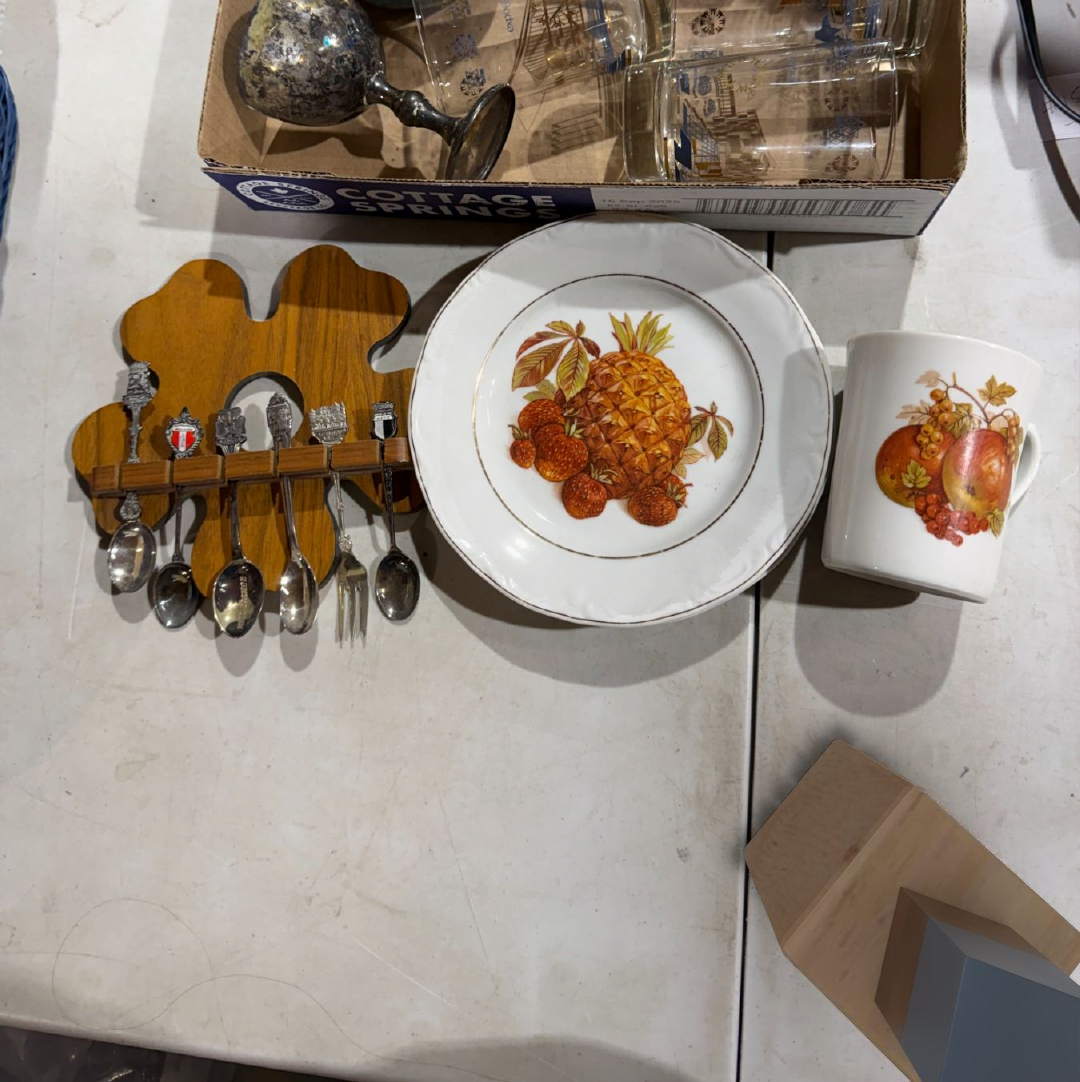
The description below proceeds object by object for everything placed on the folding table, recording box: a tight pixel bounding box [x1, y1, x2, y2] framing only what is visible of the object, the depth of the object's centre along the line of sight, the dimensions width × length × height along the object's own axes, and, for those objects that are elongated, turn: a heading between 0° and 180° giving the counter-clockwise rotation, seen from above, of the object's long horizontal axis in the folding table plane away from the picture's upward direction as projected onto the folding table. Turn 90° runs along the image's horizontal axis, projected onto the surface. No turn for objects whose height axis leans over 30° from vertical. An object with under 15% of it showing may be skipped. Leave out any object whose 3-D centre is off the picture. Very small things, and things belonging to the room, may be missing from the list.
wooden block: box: [742, 738, 1080, 1082], centre depth 54 cm, size 10×10×20 cm
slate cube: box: [901, 917, 1080, 1082], centre depth 37 cm, size 5×5×5 cm
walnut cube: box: [875, 887, 1051, 1045], centre depth 42 cm, size 5×5×5 cm
